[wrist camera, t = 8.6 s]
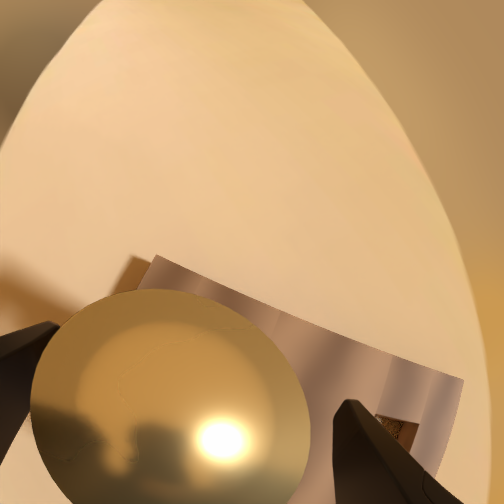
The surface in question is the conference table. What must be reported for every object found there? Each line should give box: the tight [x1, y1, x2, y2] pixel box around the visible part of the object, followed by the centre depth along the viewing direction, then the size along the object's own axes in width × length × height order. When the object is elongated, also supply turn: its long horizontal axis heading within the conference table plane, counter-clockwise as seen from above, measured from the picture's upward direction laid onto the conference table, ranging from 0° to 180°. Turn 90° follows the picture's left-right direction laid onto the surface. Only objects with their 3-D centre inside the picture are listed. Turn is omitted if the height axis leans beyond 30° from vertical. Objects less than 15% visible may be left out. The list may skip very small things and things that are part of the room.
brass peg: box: [30, 289, 311, 504], centre depth 9 cm, size 3×3×16 cm
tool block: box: [136, 254, 464, 504], centre depth 15 cm, size 24×12×2 cm, turn 67°
